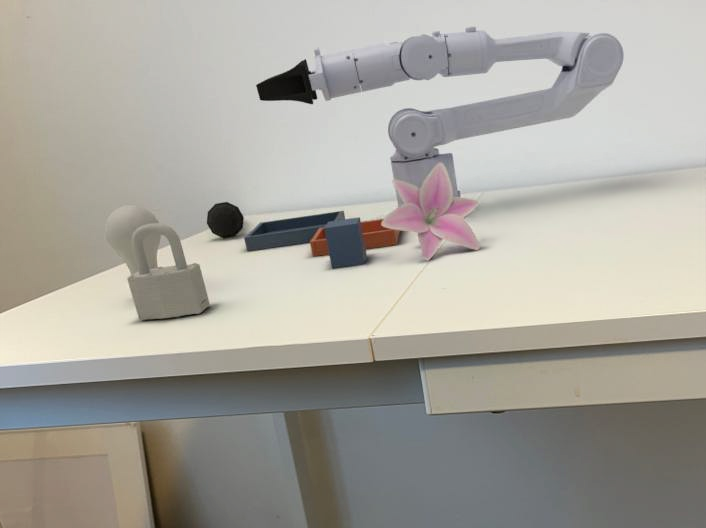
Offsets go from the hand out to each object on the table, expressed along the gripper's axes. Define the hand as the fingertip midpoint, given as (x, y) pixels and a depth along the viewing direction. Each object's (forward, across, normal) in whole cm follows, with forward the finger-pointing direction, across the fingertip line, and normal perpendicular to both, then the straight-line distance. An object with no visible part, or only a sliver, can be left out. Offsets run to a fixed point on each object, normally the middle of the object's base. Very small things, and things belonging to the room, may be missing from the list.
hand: (260, 90), depth 112 cm
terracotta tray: (-8, +12, +21) cm, 26 cm away
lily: (-18, +25, +21) cm, 38 cm away
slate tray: (0, 0, +21) cm, 21 cm away
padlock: (+12, +34, +20) cm, 41 cm away
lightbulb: (+17, +23, +20) cm, 35 cm away
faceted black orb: (+12, -16, +21) cm, 29 cm away
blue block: (-7, +23, +21) cm, 32 cm away
